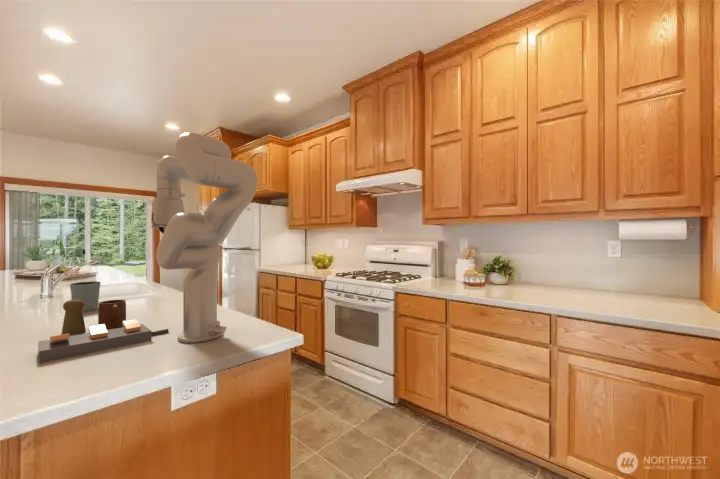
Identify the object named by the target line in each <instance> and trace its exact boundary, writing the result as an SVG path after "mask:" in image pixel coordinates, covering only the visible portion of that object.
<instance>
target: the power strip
mask: <svg viewBox="0 0 720 479" xmlns="http://www.w3.org/2000/svg"><path fill="white" fill-rule="evenodd" d="M139 324H140V323H139ZM140 326H141V330H138V331H133V332H127V333H126V331H125V329H124V327H122V328H116V329H110V330H107V331H108V336H105V337H99V338H94V339H91V336H90V333H89V332H88V333H86V332H85V333H82V334H78V335H72V336H70V338H68V341H62V342H56V343H52V341H50V339H46V340H40V341H38V342H37V343H38V344H37V345H38V351H37V352H38V363H39V364H43V363H48V362H53V361H57V360H63V359H66V358H71V357H77V356H82V355H87V354H92V353H96V352H97V353H98V352H101V351H107V350H110V349H111V350H112V349H115V348H116V349H117V348H121V347H125V346H132V345H135V344H136V345H137V344H141V343H145V342H150V341H151V342H152V336H157V335H162V334H168V333H169V328H165V329H160V330H155V331H152V330H151V329H150V328H148V326H146V325H144V324H143V323H141V324H140Z"/></svg>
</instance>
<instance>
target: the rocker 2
mask: <svg viewBox="0 0 720 479" xmlns="http://www.w3.org/2000/svg"><path fill="white" fill-rule="evenodd" d="M122 325H123V327H124V329H125V331H126V333H127V332H133V331H138V330H141V326H140V322H139V320H138V319H137V318H134V319H128V320H127V319H126V321H123V322H122Z"/></svg>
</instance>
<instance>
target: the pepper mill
mask: <svg viewBox="0 0 720 479" xmlns="http://www.w3.org/2000/svg"><path fill="white" fill-rule="evenodd" d="M83 307H84V302H83V301H82V300H72V299H70V300H67V301H65V302H63V305H62V308H63V310H64V311H65V313H64V316H63V317H64V318H63V323H62V329H61V334H60V335H63V334H70V336H74V335H80V334H86V332H87V329H86V323H85V319H84V318H85V317H84V314H83V313H84V312H82V309H83Z"/></svg>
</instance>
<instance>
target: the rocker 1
mask: <svg viewBox="0 0 720 479" xmlns="http://www.w3.org/2000/svg"><path fill="white" fill-rule="evenodd" d="M68 338H70V334H63V335H61V334H57V335H52V336H51V335H50V336H49V340H50V341H52V343H56V342H62V341H68Z"/></svg>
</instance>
